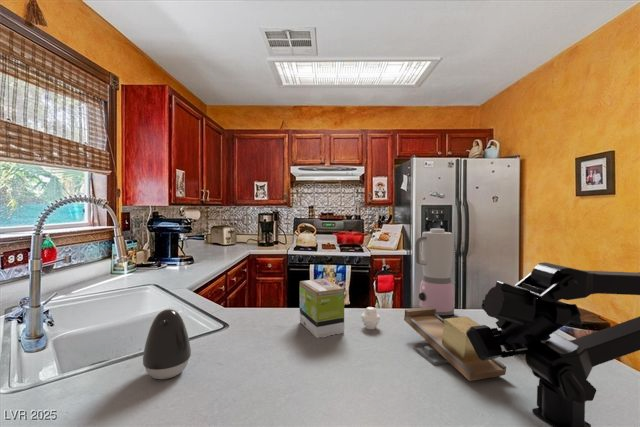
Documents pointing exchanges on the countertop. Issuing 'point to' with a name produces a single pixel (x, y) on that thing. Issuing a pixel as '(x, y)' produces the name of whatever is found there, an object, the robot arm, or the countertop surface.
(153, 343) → the dark grey egg shape
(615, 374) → the countertop surface
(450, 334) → the tan boxy block
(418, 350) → the pivot stand
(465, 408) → the countertop surface
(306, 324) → the tea box
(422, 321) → the seesaw beam
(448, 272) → the blender
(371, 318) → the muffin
